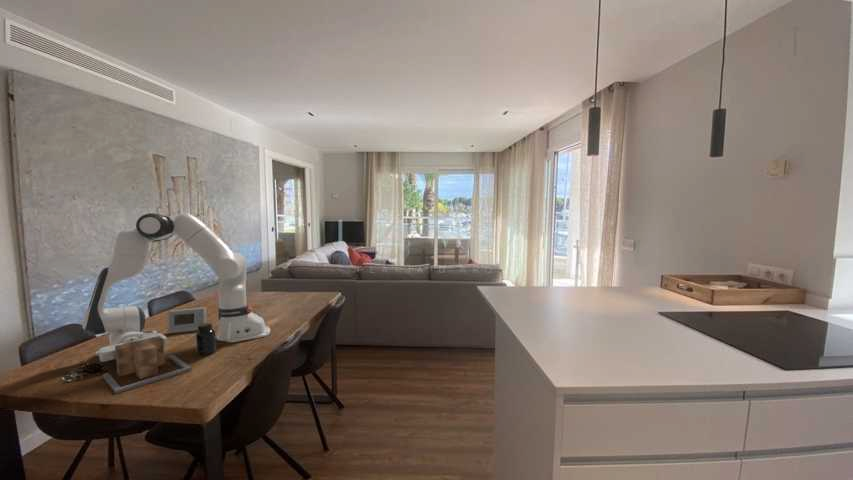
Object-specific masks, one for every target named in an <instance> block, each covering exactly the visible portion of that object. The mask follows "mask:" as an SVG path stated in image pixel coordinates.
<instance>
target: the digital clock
mask: <svg viewBox="0 0 853 480" xmlns="http://www.w3.org/2000/svg"><path fill="white" fill-rule="evenodd" d="M203 323H207V308H206V307H192V308H183V309H182V308H181V309H175V310H174V309H173V310H172V309H171V310H168V312H167V323H166V325H167V326H166V333H167V334H170V335H171V334H183V333H192V332H198V325H200V324H203Z"/></svg>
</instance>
